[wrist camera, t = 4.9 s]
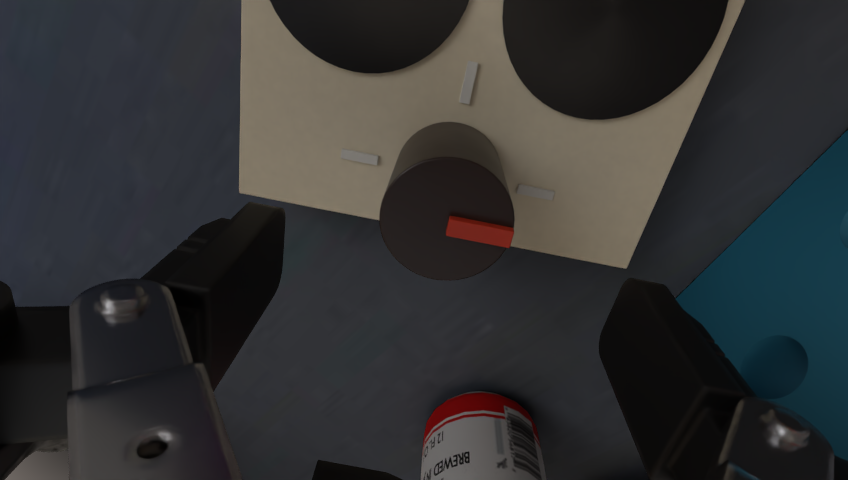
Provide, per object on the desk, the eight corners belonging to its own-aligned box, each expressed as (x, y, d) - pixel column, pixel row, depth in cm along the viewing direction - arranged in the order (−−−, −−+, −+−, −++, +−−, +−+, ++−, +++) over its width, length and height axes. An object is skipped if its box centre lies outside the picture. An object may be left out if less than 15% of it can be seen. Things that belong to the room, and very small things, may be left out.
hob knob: (388, 211, 19) (368, 272, 15) (405, 111, 17) (389, 147, 13) (486, 230, 19) (496, 297, 15) (514, 133, 17) (533, 176, 13)
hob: (260, 205, 22) (236, 230, 20) (274, -204, 15) (241, -243, 13) (596, 271, 22) (613, 303, 20) (748, -98, 16) (800, -116, 14)
